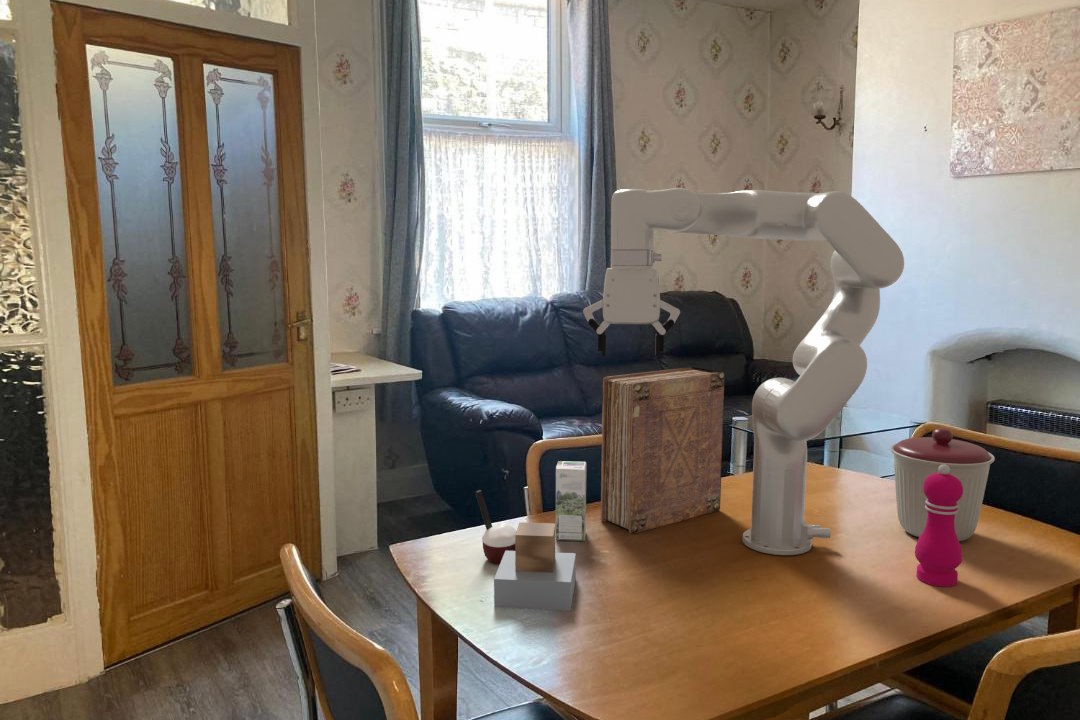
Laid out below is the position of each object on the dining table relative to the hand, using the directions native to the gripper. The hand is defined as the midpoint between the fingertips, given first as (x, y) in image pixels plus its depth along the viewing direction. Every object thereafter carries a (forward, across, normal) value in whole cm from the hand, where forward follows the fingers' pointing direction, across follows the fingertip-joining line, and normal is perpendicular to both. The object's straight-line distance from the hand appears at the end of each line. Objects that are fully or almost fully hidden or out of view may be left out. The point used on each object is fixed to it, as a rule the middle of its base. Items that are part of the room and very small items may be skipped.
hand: (630, 355), depth 147 cm
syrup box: (+36, +11, -5) cm, 38 cm away
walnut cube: (+32, +15, +21) cm, 41 cm away
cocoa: (+36, +23, +8) cm, 44 cm away
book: (+37, -7, -19) cm, 42 cm away
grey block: (+37, +15, +21) cm, 45 cm away
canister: (+36, -60, -14) cm, 72 cm away
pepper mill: (+36, -52, +9) cm, 64 cm away
